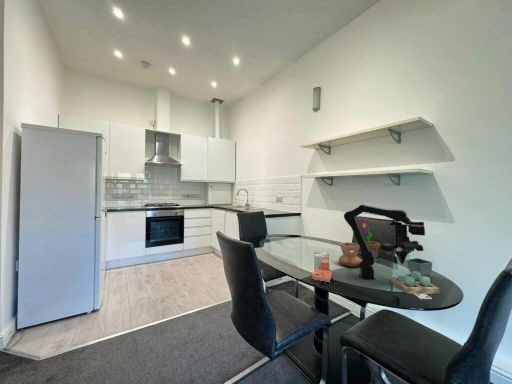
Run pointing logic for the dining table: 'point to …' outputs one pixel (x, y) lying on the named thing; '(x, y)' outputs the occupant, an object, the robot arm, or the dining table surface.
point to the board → (417, 288)
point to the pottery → (323, 272)
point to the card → (422, 296)
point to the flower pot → (420, 266)
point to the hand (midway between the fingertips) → (402, 263)
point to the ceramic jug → (349, 254)
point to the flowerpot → (370, 244)
